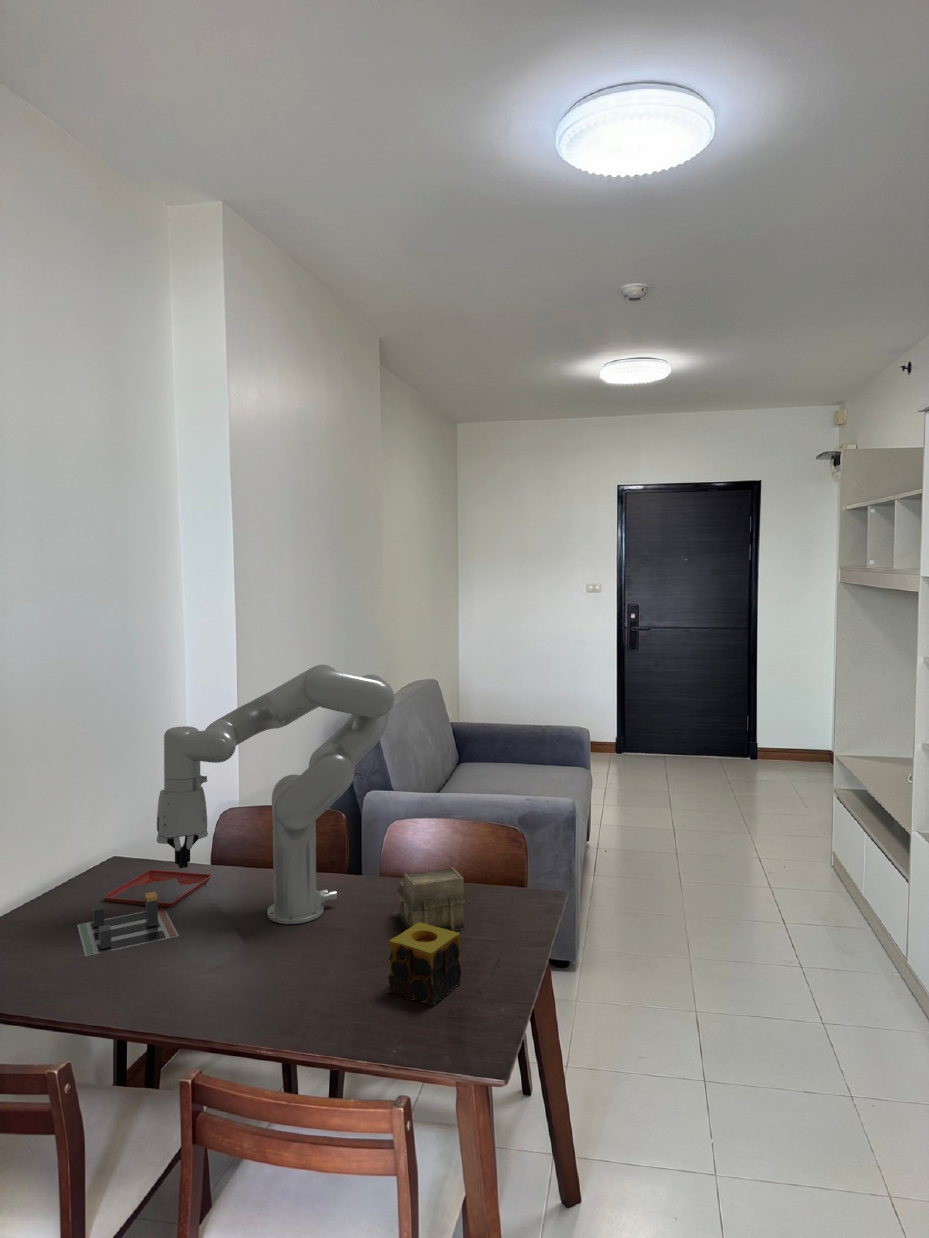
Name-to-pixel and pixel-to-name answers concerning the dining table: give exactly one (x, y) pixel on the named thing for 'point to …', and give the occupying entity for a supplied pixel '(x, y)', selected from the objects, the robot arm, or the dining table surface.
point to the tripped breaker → (151, 908)
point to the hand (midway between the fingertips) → (182, 865)
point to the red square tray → (160, 875)
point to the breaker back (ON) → (98, 915)
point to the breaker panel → (126, 932)
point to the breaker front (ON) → (105, 936)
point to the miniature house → (433, 899)
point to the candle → (424, 963)
